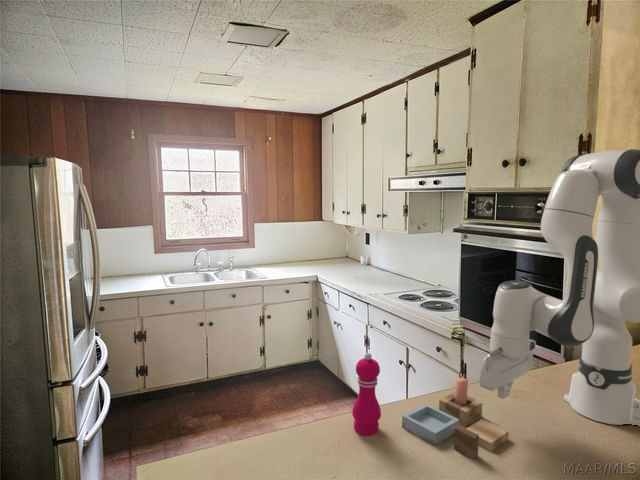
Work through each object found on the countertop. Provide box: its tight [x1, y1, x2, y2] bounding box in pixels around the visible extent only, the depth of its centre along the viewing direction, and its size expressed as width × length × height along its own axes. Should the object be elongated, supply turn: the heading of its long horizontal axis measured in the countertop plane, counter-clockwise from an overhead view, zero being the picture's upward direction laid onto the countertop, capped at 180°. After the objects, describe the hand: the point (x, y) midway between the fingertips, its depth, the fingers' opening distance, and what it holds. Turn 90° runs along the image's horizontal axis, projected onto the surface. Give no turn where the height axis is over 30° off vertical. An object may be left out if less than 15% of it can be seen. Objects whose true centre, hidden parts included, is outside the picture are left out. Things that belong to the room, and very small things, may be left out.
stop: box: [453, 425, 479, 459], centre depth 97 cm, size 2×5×5 cm, turn 39°
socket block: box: [438, 391, 483, 427], centre depth 113 cm, size 8×8×4 cm
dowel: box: [454, 377, 469, 407], centre depth 113 cm, size 3×3×10 cm
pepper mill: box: [351, 352, 382, 437], centre depth 105 cm, size 7×7×20 cm
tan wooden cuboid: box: [465, 418, 509, 452], centre depth 103 cm, size 8×7×2 cm
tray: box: [401, 403, 460, 446], centre depth 106 cm, size 10×10×3 cm
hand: (503, 396), depth 107 cm, fingers closed
